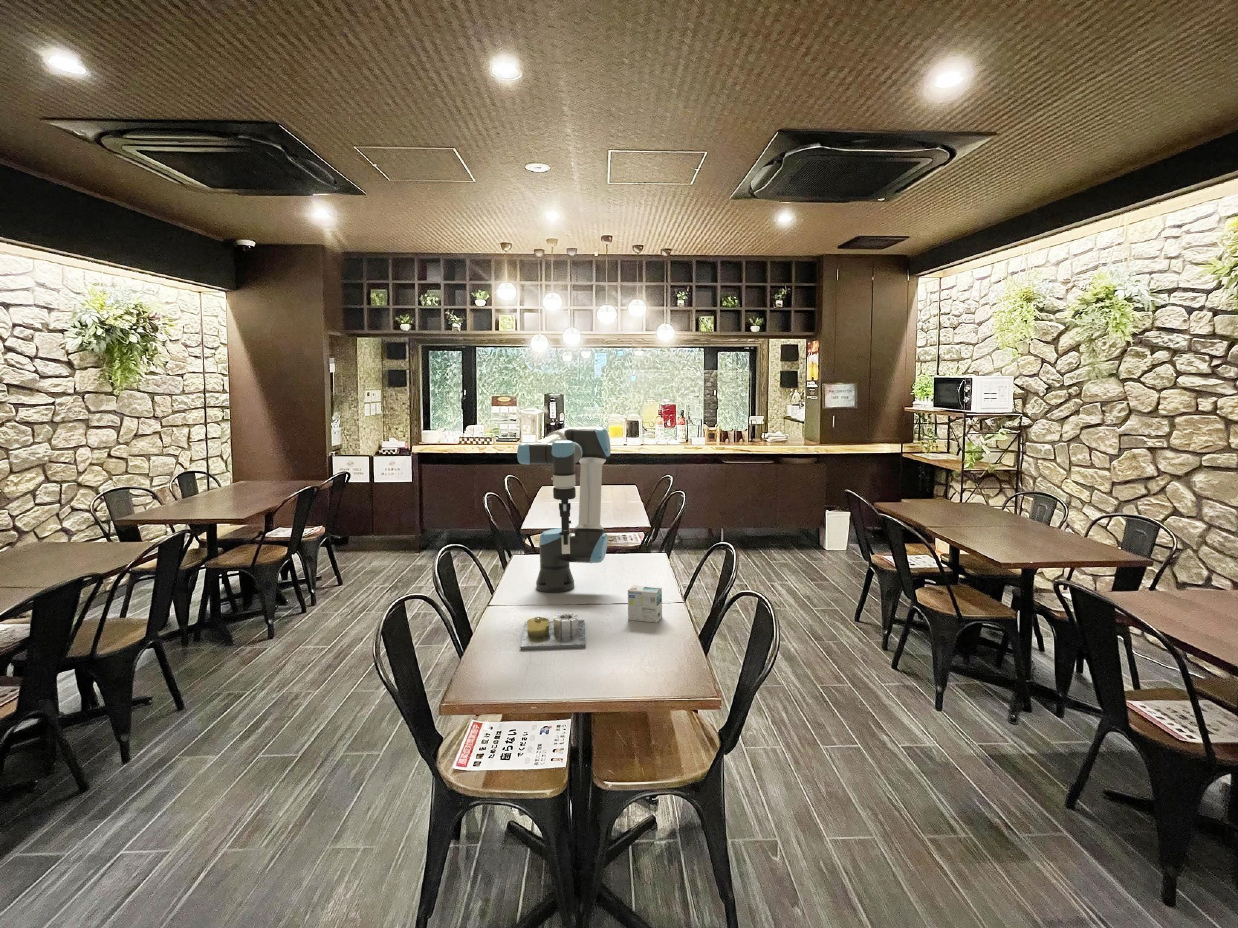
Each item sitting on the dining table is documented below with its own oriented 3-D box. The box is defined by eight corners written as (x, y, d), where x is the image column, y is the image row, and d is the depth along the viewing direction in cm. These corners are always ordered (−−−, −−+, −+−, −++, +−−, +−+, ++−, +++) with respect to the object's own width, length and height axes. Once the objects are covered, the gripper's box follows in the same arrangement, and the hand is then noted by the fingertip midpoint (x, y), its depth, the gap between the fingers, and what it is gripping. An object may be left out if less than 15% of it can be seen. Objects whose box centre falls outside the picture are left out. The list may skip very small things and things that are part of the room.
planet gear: (554, 628, 230) (553, 613, 230) (578, 627, 231) (578, 612, 230) (553, 636, 223) (553, 621, 222) (578, 636, 223) (578, 620, 222)
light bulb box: (662, 616, 244) (662, 586, 242) (657, 623, 237) (657, 592, 236) (633, 613, 247) (633, 584, 246) (627, 620, 241) (627, 589, 240)
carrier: (525, 625, 237) (524, 607, 236) (584, 623, 238) (584, 605, 237) (520, 650, 215) (519, 630, 214) (585, 647, 216) (585, 628, 216)
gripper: (553, 480, 248) (555, 538, 251) (552, 494, 223) (554, 558, 226) (575, 479, 248) (576, 538, 251) (575, 493, 224) (577, 557, 227)
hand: (566, 548), depth 239 cm, fingers open, 13 cm apart
